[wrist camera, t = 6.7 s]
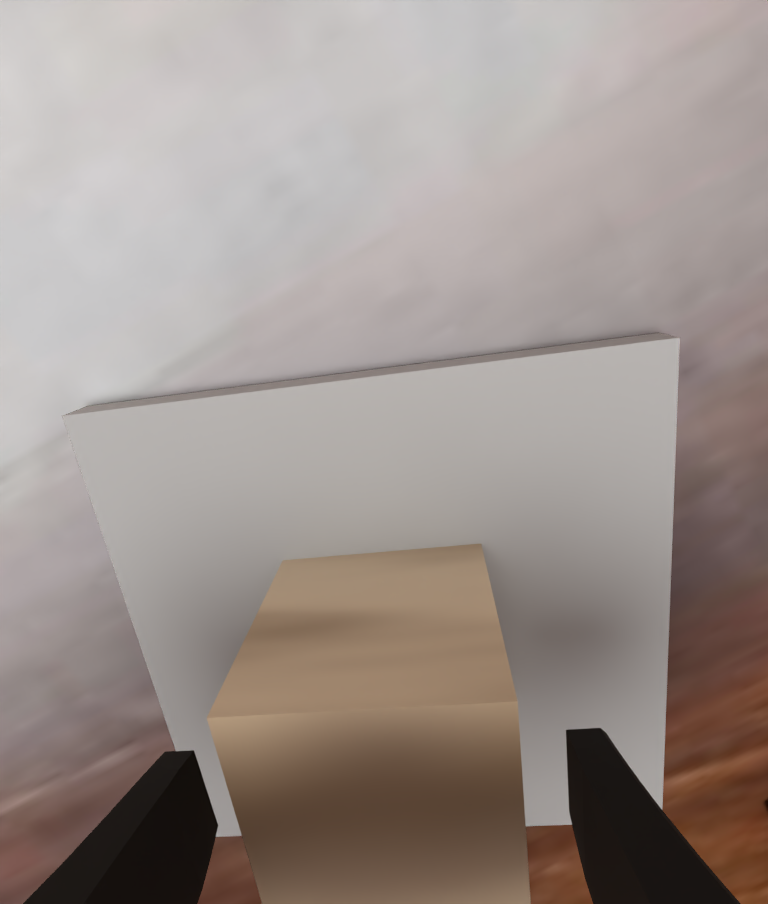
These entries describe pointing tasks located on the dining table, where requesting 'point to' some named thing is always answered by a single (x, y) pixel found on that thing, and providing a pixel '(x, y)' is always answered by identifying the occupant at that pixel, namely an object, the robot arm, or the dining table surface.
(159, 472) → the light gray board
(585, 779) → the robot arm
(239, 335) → the dining table surface
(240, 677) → the birch cube
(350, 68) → the dining table surface
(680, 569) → the dining table surface
